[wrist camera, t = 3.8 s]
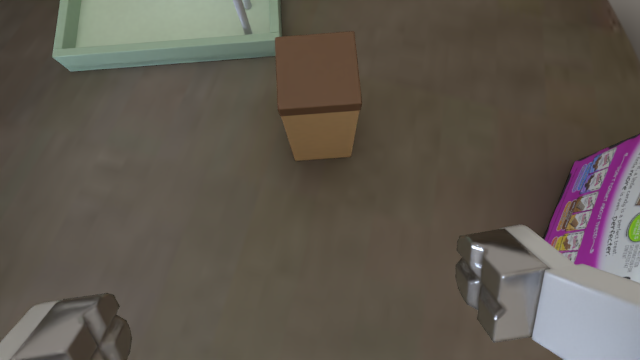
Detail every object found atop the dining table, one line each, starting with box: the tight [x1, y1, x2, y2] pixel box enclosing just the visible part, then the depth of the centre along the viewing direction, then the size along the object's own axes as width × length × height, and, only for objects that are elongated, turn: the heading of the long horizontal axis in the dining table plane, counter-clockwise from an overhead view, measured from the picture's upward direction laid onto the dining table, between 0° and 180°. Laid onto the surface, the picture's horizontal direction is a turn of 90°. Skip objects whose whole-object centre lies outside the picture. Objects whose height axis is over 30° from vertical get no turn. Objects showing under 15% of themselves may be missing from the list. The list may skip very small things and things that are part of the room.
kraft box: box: [275, 31, 362, 161], centre depth 25 cm, size 5×5×10 cm
